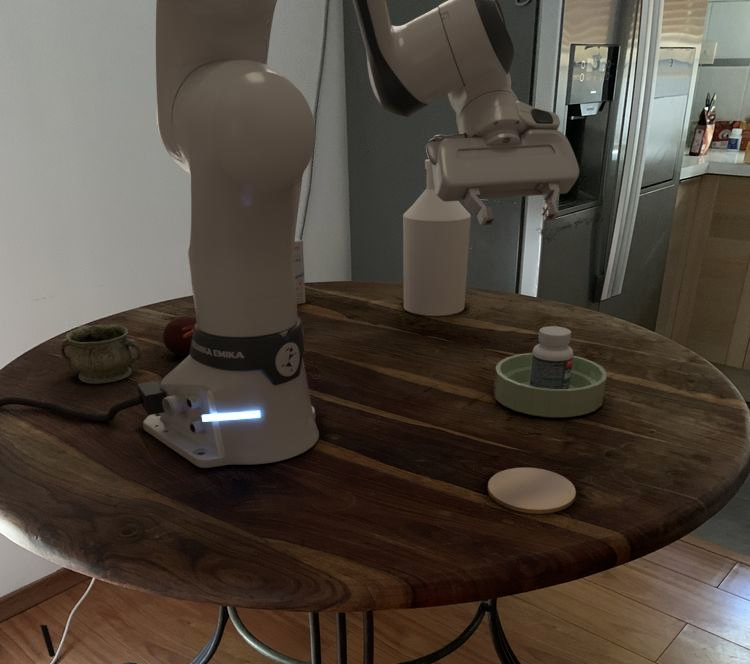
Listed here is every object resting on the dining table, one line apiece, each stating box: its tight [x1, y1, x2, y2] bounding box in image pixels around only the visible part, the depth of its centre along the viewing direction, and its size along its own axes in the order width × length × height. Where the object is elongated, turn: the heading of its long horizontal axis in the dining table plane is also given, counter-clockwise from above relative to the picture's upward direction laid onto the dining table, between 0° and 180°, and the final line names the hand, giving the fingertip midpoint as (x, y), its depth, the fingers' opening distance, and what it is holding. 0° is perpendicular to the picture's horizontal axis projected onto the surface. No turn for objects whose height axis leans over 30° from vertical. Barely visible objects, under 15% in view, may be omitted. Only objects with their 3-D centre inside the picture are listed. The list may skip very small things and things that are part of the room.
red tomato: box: [162, 315, 197, 358], centre depth 113 cm, size 8×9×6 cm
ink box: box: [294, 236, 306, 305], centre depth 137 cm, size 9×5×12 cm, turn 117°
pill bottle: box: [529, 325, 574, 389], centre depth 96 cm, size 5×5×9 cm
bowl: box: [493, 352, 608, 418], centre depth 97 cm, size 14×14×4 cm
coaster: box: [487, 467, 577, 515], centre depth 76 cm, size 9×9×1 cm
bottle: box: [402, 159, 472, 317], centre depth 131 cm, size 12×12×25 cm
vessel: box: [59, 323, 143, 385], centre depth 106 cm, size 12×9×6 cm
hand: (519, 219), depth 98 cm, fingers open, 8 cm apart
